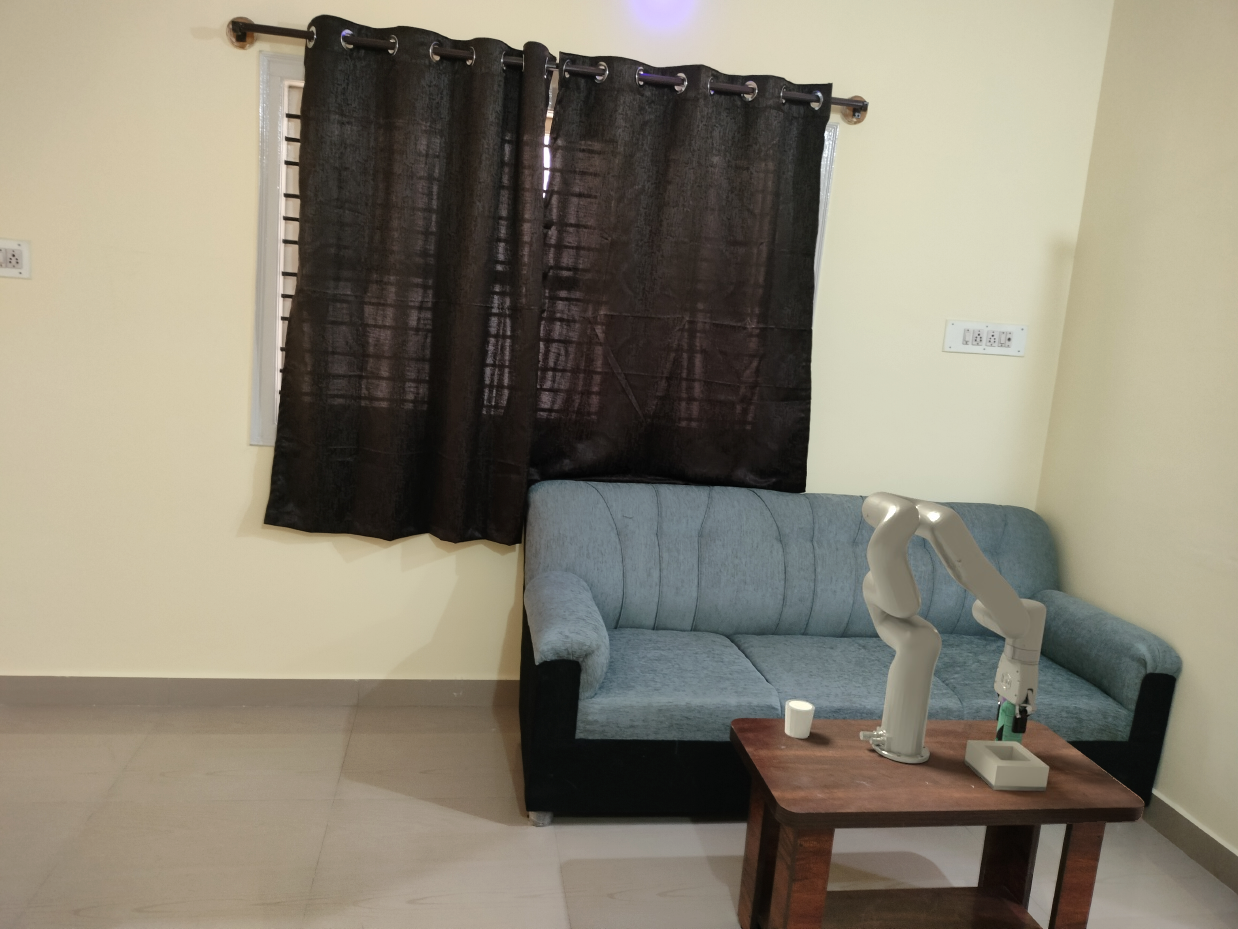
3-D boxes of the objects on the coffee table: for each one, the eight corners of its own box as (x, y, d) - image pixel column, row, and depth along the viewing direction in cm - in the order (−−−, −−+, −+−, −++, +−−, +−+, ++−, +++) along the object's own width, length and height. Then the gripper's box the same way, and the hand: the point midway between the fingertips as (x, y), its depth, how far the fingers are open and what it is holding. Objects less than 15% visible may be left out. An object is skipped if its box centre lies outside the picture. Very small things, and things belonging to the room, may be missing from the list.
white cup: (809, 728, 205) (813, 701, 204) (813, 741, 198) (817, 712, 198) (780, 725, 206) (784, 697, 205) (783, 737, 199) (787, 708, 198)
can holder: (993, 790, 182) (997, 765, 182) (964, 763, 194) (967, 740, 193) (1045, 791, 184) (1049, 767, 183) (1013, 764, 196) (1016, 741, 195)
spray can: (1019, 751, 203) (1031, 670, 201) (1019, 760, 198) (1032, 677, 196) (994, 745, 205) (1006, 665, 203) (993, 753, 200) (1006, 671, 198)
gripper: (986, 639, 207) (976, 711, 209) (1028, 665, 190) (1016, 743, 192) (1015, 641, 208) (1004, 712, 210) (1059, 667, 191) (1047, 744, 193)
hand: (1010, 726), depth 201 cm, fingers closed on spray can, 5 cm apart
